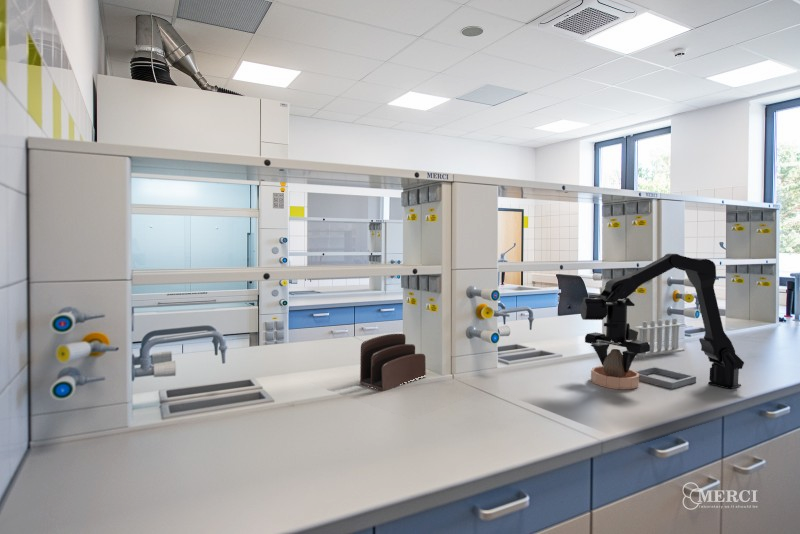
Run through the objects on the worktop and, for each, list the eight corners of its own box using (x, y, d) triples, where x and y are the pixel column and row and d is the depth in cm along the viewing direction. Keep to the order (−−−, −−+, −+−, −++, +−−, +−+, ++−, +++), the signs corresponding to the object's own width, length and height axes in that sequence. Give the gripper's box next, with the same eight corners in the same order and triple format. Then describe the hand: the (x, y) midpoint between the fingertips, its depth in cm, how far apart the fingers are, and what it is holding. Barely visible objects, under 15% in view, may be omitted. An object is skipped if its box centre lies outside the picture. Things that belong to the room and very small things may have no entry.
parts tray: (695, 382, 150) (696, 376, 150) (672, 388, 143) (672, 383, 143) (653, 371, 162) (653, 366, 161) (629, 377, 154) (629, 372, 154)
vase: (598, 375, 151) (598, 348, 150) (615, 373, 153) (615, 346, 153) (614, 381, 144) (615, 353, 144) (632, 379, 147) (633, 351, 146)
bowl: (647, 384, 147) (648, 374, 147) (621, 392, 140) (621, 380, 139) (608, 374, 158) (608, 364, 158) (582, 380, 151) (582, 369, 151)
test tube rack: (642, 357, 183) (643, 322, 182) (632, 354, 187) (633, 321, 186) (684, 351, 194) (685, 318, 193) (674, 348, 198) (675, 317, 197)
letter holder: (359, 385, 146) (359, 339, 145) (403, 372, 160) (403, 330, 159) (382, 392, 139) (382, 344, 138) (426, 378, 153) (426, 334, 153)
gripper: (661, 322, 144) (659, 373, 145) (605, 313, 160) (604, 360, 161) (639, 325, 138) (638, 378, 139) (584, 316, 154) (583, 364, 155)
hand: (615, 369), depth 149 cm, fingers closed on vase, 7 cm apart
